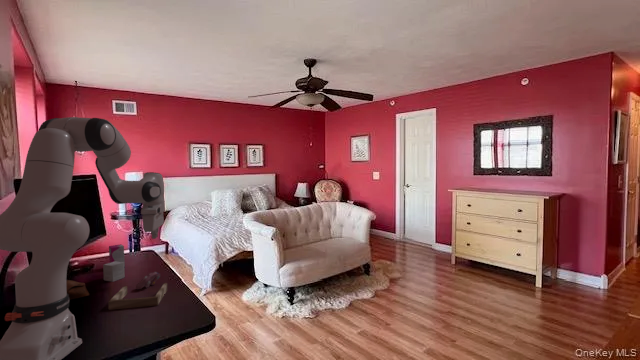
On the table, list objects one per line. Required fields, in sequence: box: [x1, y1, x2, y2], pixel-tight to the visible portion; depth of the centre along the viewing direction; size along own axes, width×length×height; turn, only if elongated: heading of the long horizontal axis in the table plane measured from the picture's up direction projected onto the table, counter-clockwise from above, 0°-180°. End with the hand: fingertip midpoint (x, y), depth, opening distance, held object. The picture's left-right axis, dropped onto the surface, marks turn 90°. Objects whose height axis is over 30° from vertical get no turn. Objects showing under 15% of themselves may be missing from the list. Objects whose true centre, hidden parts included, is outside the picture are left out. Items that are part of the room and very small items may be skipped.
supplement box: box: [108, 244, 126, 269], centre depth 168 cm, size 6×6×12 cm
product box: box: [102, 261, 125, 282], centre depth 152 cm, size 6×6×7 cm
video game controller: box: [135, 271, 161, 290], centre depth 143 cm, size 10×5×7 cm, turn 169°
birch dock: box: [107, 282, 168, 311], centre depth 129 cm, size 16×16×3 cm
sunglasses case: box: [66, 279, 90, 301], centre depth 137 cm, size 18×7×7 cm, turn 42°
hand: (154, 238), depth 151 cm, fingers closed
